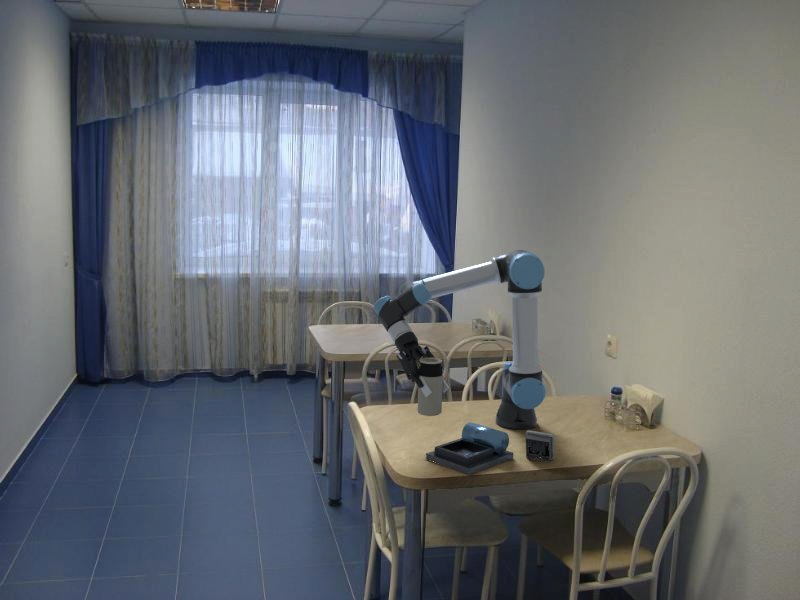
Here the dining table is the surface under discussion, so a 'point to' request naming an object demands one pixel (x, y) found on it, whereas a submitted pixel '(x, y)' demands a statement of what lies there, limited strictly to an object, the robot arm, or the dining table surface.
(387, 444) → the dining table surface
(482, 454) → the base
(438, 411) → the travel mug
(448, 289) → the robot arm
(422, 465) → the dining table surface
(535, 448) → the electrical switch
